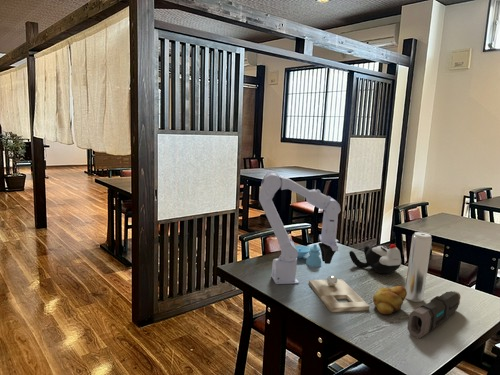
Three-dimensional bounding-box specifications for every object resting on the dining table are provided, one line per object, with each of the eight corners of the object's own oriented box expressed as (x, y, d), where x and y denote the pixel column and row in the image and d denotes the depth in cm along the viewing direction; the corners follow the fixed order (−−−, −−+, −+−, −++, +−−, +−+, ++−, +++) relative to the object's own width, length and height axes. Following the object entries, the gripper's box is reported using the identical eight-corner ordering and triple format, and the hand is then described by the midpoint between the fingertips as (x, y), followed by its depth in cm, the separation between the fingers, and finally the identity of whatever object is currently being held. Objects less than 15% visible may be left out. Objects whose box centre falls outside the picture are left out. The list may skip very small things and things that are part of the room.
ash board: (330, 312, 121) (331, 307, 121) (308, 283, 142) (309, 280, 142) (368, 310, 124) (369, 306, 124) (341, 282, 145) (341, 279, 145)
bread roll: (392, 320, 118) (395, 297, 117) (364, 309, 125) (366, 287, 123) (406, 307, 127) (409, 286, 126) (380, 297, 134) (382, 277, 132)
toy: (395, 255, 145) (356, 230, 158) (381, 288, 151) (344, 261, 164) (414, 248, 155) (375, 225, 168) (400, 279, 161) (363, 254, 174)
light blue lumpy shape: (283, 255, 172) (284, 237, 170) (299, 252, 178) (300, 234, 177) (310, 268, 158) (312, 249, 156) (326, 264, 164) (328, 245, 162)
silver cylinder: (408, 292, 139) (416, 230, 135) (425, 298, 135) (435, 234, 130) (401, 297, 135) (409, 233, 130) (419, 304, 130) (428, 238, 126)
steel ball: (328, 288, 135) (329, 278, 135) (324, 284, 139) (325, 274, 139) (338, 288, 136) (339, 278, 135) (334, 283, 140) (335, 274, 139)
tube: (465, 322, 125) (428, 342, 105) (445, 318, 130) (405, 336, 110) (463, 290, 126) (426, 304, 106) (443, 288, 131) (404, 300, 111)
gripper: (346, 234, 135) (343, 269, 137) (331, 224, 149) (328, 255, 151) (329, 235, 133) (326, 269, 136) (315, 224, 147) (312, 255, 150)
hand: (326, 262), depth 143 cm, fingers closed
